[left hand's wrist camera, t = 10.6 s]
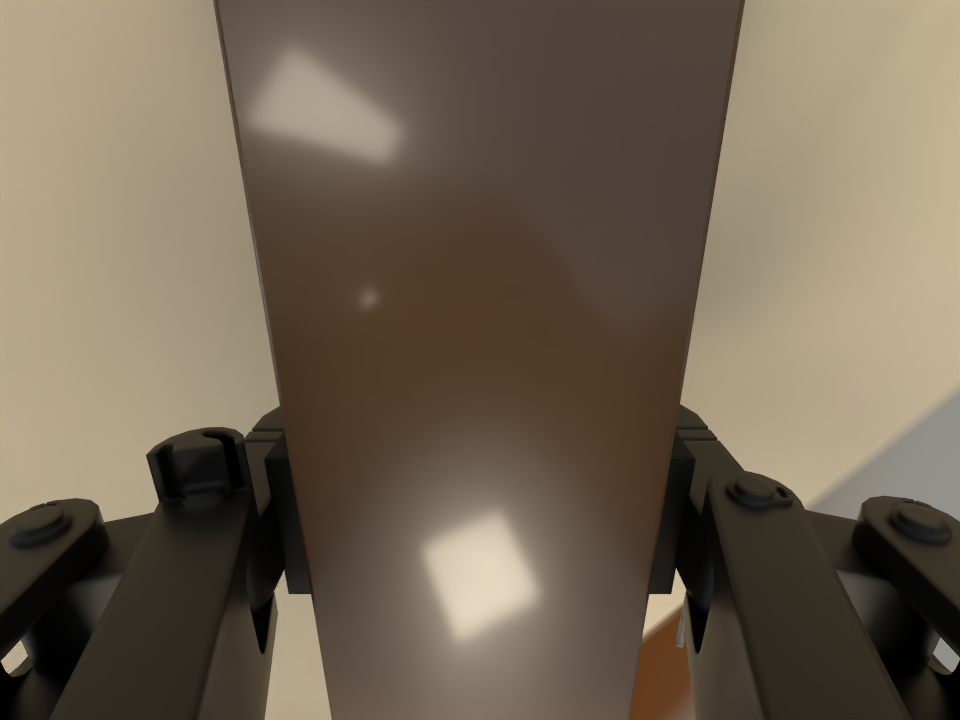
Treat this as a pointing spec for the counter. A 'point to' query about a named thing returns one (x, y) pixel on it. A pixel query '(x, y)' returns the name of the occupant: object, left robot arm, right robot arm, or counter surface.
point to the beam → (479, 325)
